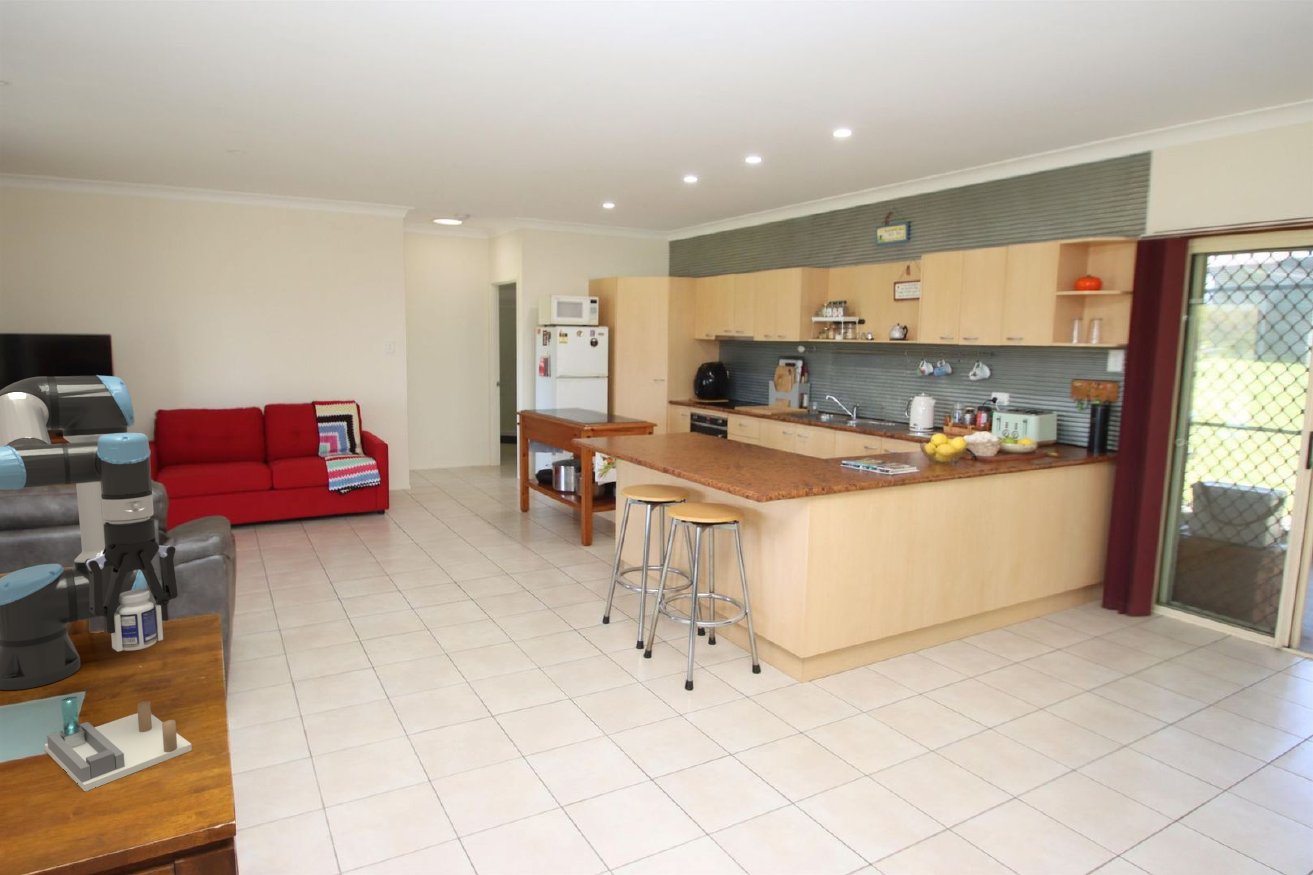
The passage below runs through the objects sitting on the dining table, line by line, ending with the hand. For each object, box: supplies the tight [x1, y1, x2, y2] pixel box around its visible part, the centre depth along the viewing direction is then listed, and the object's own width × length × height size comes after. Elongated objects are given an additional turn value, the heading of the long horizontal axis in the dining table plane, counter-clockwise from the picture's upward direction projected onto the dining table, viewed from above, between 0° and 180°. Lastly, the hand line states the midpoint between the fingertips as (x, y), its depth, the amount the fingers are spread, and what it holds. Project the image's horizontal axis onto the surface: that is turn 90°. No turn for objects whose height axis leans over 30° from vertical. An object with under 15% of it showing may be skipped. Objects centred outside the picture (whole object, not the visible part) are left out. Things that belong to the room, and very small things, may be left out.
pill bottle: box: [116, 588, 158, 651], centre depth 137 cm, size 6×6×10 cm
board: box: [44, 701, 193, 792], centre depth 134 cm, size 20×16×6 cm
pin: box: [58, 696, 85, 748], centre depth 134 cm, size 3×3×8 cm
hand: (138, 643), depth 137 cm, fingers closed on pill bottle, 6 cm apart
